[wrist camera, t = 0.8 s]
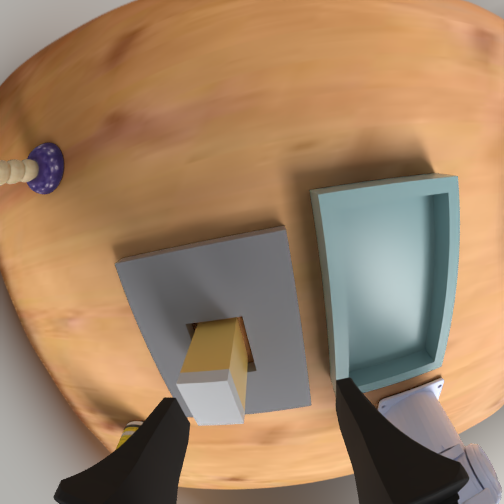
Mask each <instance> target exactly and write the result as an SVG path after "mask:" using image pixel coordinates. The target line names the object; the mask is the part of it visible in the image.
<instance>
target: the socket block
mask: <svg viewBox="0 0 504 504" xmlns="http://www.w3.org/2000/svg"><path fill="white" fill-rule="evenodd" d="M115 266H116V269H117V272H118V275H119V278H120V281H121V283H122V286H123V289H124V291H125V294H126V297H127V299H128V302H129V304H130V307H131V309H132V312H133V314H134V317H135V319H136V322H137V324H138V326H139V329H140V331H141V333H142V336H143V338H144V340H145V342H146V344H147V347H148V349H149V351H150V353H151V355H152V357H153V359H154V361H155V364H156V366H157V368H158V370H159V372H160V374H161V376H162V378H163V379H164V381H165V383H166V385H167V387H168V389H169V391H170V393H171V395H172V396H173V398H176V399H177V401H178V403H179V404H180V406H181V408H182V410H183V412H184V414H185V415H186V417H193V415H192V413H191V412H190V410H189V408H188V406H187V404H186V402H185V400H184V399H183V397H182V395H181V393H180V391H179V389H178V387H177V385H176V383H177V380H178V377H179V374H180V371H181V369H182V366H183V363H184V360H185V357H186V355H187V352H188V349H189V346H190V344H191V341H192V338H193V335H194V333H195V331H194V329H193V326H192V323H198V322H205V321H213V320H220V319H227V318H234V317H240V316H242V317H243V321H244V325H245V329H246V333H247V336H248V340H249V344H250V348H251V352H252V355H253V359H254V362H249V363H248V368H247V384H246V399H245V414H254V413H264V412H272V411H279V410H286V409H293V408H299V407H305V406H310V405H311V397H310V389H309V380H308V372H307V364H306V356H305V349H304V341H303V334H302V327H301V320H300V313H299V306H298V300H297V293H296V287H295V280H294V274H293V268H292V262H291V256H290V250H289V244H288V238H287V233H286V228H285V226H279V227H273V228H268V229H263V230H258V231H252V232H247V233H242V234H237V235H232V236H227V237H222V238H217V239H212V240H207V241H202V242H197V243H192V244H187V245H182V246H177V247H172V248H168V249H163V250H158V251H153V252H149V253H144V254H139V255H135V256H130V257H126V258H122V259H120V260H119V261H118V262H116V263H115Z"/></svg>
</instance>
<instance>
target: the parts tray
mask: <svg viewBox="0 0 504 504" xmlns="http://www.w3.org/2000/svg"><path fill="white" fill-rule="evenodd" d="M309 192H310V197H311V203H312V210H313V216H314V223H315V229H316V236H317V243H318V251H319V258H320V266H321V274H322V283H323V292H324V302H325V312H326V323H327V335H328V348H329V364H330V378H331V382H332V385H333V389H334V392H335V396H336V380H339V379H344V378H348V377H350V378H352V380H353V381H354V383H355V384H356V385H357V387H358V388H359V389H360V391H361V392H362V393H365V392H369V391H372V390H376V389H379V388H382V387H386V386H389V385H392V384H395V383H398V382H401V381H404V380H407V379H410V378H413V377H416V376H418V375H421V374H424V373H426V372H429V371H431V370H434V369H437V368H439V367H441V366H442V362H443V358H444V354H445V350H446V345H447V341H448V336H449V331H450V326H451V320H452V314H453V308H454V301H455V293H456V285H457V274H458V262H459V241H460V207H459V187H458V176H454V175H446V174H439V173H431V174H421V175H412V176H404V177H395V178H387V179H379V180H372V181H365V182H358V183H351V184H344V185H337V186H331V187H325V188H319V189H313V190H309Z"/></svg>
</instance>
